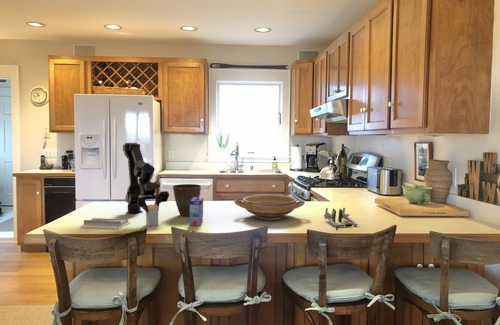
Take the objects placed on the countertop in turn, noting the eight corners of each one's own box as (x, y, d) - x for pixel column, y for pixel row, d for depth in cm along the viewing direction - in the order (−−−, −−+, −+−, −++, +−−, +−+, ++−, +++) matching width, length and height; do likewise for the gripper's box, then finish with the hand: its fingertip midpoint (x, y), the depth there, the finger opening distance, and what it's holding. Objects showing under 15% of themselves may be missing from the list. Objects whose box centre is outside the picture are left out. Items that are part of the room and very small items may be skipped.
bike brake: (320, 219, 185) (336, 235, 166) (321, 206, 184) (337, 221, 165) (345, 218, 188) (364, 234, 169) (346, 206, 186) (365, 220, 167)
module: (146, 224, 176) (145, 205, 175) (155, 223, 178) (155, 204, 177) (148, 226, 172) (148, 206, 171) (158, 225, 174) (158, 205, 173)
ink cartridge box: (200, 226, 173) (200, 195, 172) (189, 226, 173) (188, 195, 172) (203, 221, 183) (203, 192, 182) (192, 221, 183) (192, 192, 182)
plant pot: (206, 215, 198) (206, 185, 197) (184, 219, 187) (184, 188, 186) (189, 211, 208) (189, 183, 207) (167, 215, 197) (167, 185, 196)
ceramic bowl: (231, 223, 180) (231, 202, 179) (237, 211, 208) (237, 193, 207) (306, 224, 177) (307, 203, 177) (302, 212, 206) (302, 194, 205)
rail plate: (94, 222, 181) (93, 216, 181) (130, 223, 178) (130, 217, 178) (80, 227, 170) (80, 221, 170) (119, 228, 167) (119, 222, 167)
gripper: (129, 177, 172) (135, 203, 163) (167, 174, 181) (175, 200, 173) (125, 191, 179) (131, 217, 170) (163, 188, 189) (170, 213, 180)
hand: (152, 212), depth 173 cm, fingers closed on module, 4 cm apart
